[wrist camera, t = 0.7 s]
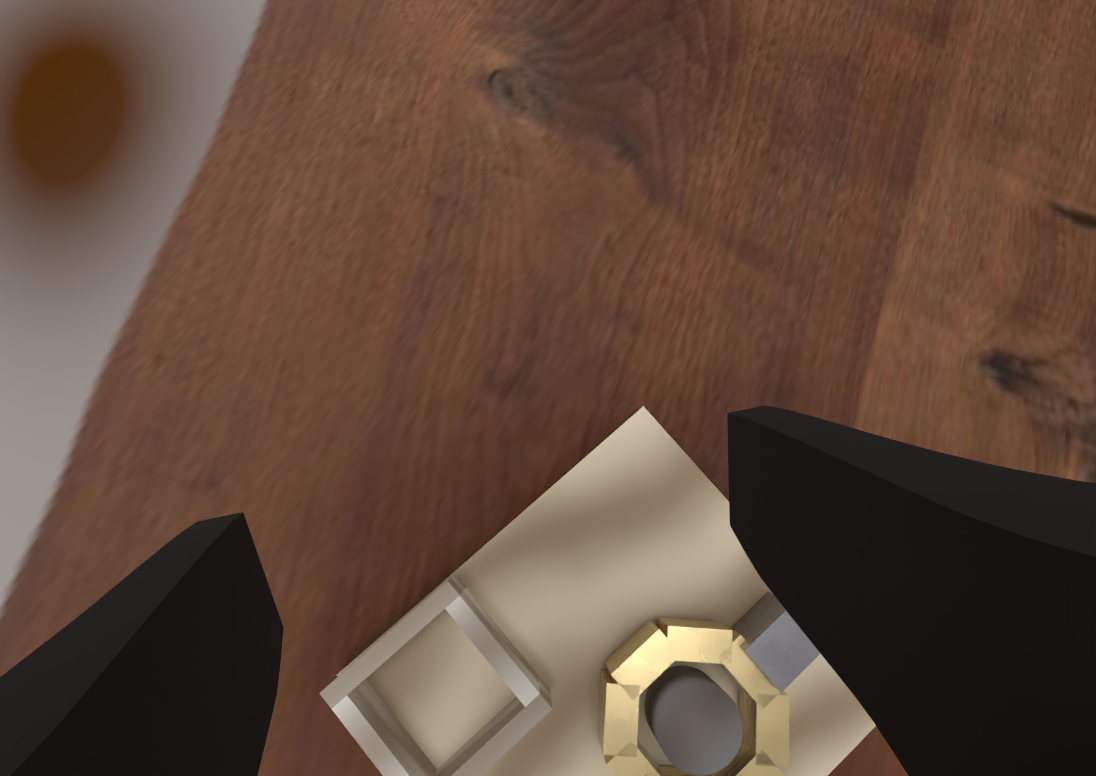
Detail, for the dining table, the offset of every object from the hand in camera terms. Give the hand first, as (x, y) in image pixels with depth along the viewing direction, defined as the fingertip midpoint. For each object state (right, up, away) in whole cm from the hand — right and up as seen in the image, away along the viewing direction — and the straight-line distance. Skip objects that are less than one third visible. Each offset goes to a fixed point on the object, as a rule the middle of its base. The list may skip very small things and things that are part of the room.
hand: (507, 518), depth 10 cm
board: (+4, -12, +22) cm, 25 cm away
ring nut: (+8, -12, +21) cm, 25 cm away
